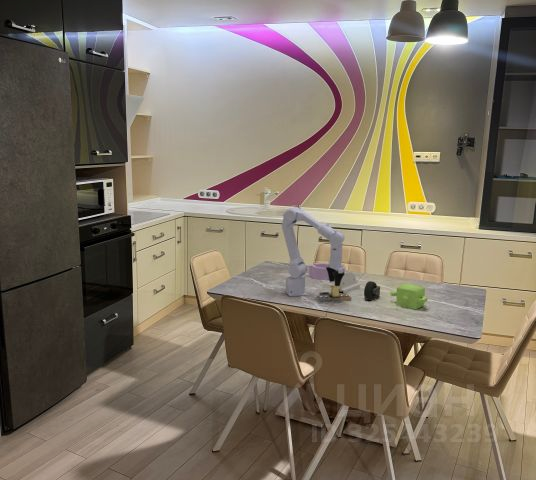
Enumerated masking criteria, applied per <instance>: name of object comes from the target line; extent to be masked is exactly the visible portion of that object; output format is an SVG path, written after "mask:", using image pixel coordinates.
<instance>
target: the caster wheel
mask: <svg viewBox="0 0 536 480" xmlns="http://www.w3.org/2000/svg"><path fill="white" fill-rule="evenodd" d="M363 295H364V298H365V299H366V300H370V301H373V300H374V299H375V298H379V297H380V295H381V286H380V285H377V282H375V281H372V280H370V281H367V282H366V284H365V285H364V289H363Z"/></svg>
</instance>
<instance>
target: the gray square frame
mask: <svg viewBox="0 0 536 480" xmlns="http://www.w3.org/2000/svg"><path fill="white" fill-rule="evenodd" d="M318 295H331V292H329V291H325V292H324V291H323V292H321V291H320V292H319V294H318Z"/></svg>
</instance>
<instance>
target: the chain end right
mask: <svg viewBox="0 0 536 480" xmlns="http://www.w3.org/2000/svg"><path fill="white" fill-rule="evenodd" d="M328 296H329V297H331V295H328ZM338 298H341V301H340V302H351V301H352V296H350V295H349V294H348V293H346V294H344V293H342V294H341V293H339V296H338Z"/></svg>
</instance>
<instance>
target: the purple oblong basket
mask: <svg viewBox="0 0 536 480" xmlns="http://www.w3.org/2000/svg"><path fill="white" fill-rule="evenodd" d="M326 267H329V266H328V263H326V262H325V263H322V262H321V263H320V262H319V263H317V262H313V264H309V265H308V278H312V279H315V280H320V281H329V276H328V272H327V269H326ZM342 269H343V272H344V273H346V268H345V267H342ZM336 272H337V271H336Z"/></svg>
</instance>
